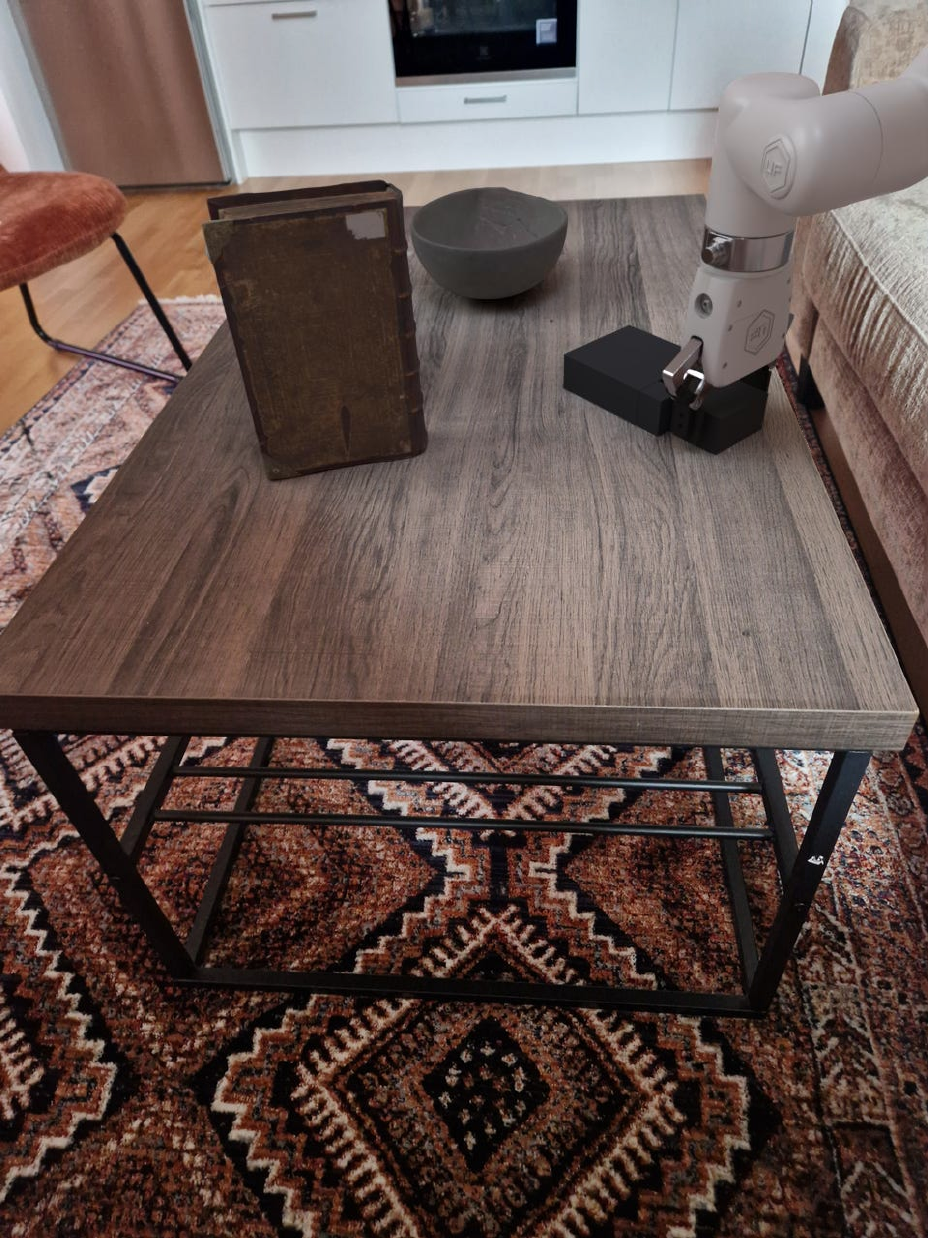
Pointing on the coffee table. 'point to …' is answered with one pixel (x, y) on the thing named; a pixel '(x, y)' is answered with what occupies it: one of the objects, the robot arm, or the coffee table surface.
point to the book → (321, 322)
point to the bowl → (489, 241)
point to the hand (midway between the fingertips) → (718, 420)
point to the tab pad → (729, 414)
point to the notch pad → (625, 376)
